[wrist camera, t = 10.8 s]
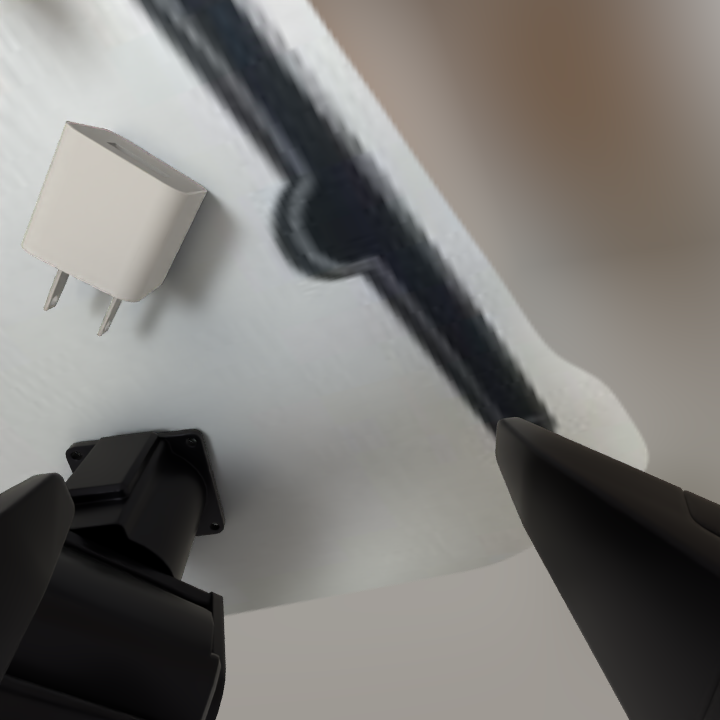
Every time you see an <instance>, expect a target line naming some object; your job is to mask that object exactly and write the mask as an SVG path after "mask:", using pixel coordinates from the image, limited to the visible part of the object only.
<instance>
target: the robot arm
mask: <svg viewBox="0 0 720 720" xmlns="http://www.w3.org/2000/svg"><path fill="white" fill-rule="evenodd" d="M188 438H194V439H195V440H196V442H191V441H189V439H188ZM76 452H79V453H81V454H82V455H78V454H77V453H76ZM495 454H496V460H497V463H498V466H499V468H500V471H501V473H502V476H503V478H504V481H505V483H506V485H507V488H508V490H509V493H510V495H511V498H512V500H513V503H514V505H515V507H516V510H517V512H518V515H519V517H520V519H521V522H522V524H523V526H524V528H525V530H526V532H527V534H528V536H529V537H530V539H531V541H532V543H533V545H534V547H535V548H536V550H537V552H538V554H539V556H540V557H541V559H542V561H543V563H544V565H545V567H546V568H547V570H548V572H549V574H550V576H551V578H552V579H553V581H554V583H555V585H556V587H557V588H558V590H559V592H560V594H561V596H562V598H563V599H564V601H565V603H566V605H567V607H568V608H569V610H570V612H571V614H572V616H573V618H574V619H575V621H576V623H577V625H578V627H579V629H580V630H581V632H582V634H583V636H584V638H585V640H586V641H587V643H588V645H589V647H590V649H591V651H592V652H593V654H594V656H595V658H596V660H597V662H598V663H599V665H600V667H601V669H602V670H603V672H604V674H605V676H606V678H607V680H608V682H609V683H610V685H611V687H612V689H613V691H614V693H615V694H616V696H617V698H618V700H619V702H620V704H621V705H622V707H623V709H624V711H625V713H626V714H627V716H628V718H629V720H720V505H719V504H717V503H714V502H712V501H709V500H707V499H705V498H703V497H700V496H698V495H696V494H694V493H691V492H689V491H683V490H682V489H681V488H680V487H677V486H675V485H672V484H670V483H668V482H666V481H664V480H661V479H659V478H657V477H654V476H652V475H650V474H647V473H645V472H643V471H641V470H638V469H636V468H634V467H631V466H629V465H627V464H625V463H622V462H620V461H618V460H615V459H613V458H611V457H608V456H606V455H604V454H602V453H599V452H597V451H595V450H592V449H590V448H588V447H585V446H583V445H581V444H579V443H576V442H574V441H572V440H569V439H567V438H565V437H563V436H560V435H558V434H556V433H553V432H551V431H549V430H546V429H544V428H542V427H540V426H537V425H535V424H533V423H530V422H528V421H526V420H524V419H521V418H519V417H513V418H505V419H500V420H499V421H498V424H497V432H496V449H495ZM66 458H67V461H68V463H69V465H70V468H71V470H72V473H73V474H72V475H71V476H70V478H69V479H68V480H67V481H66V483H65V482H64V479H63V478H62V476H61V475H60V474H58V473H47V474H39V475H35V476H32V477H30V478H28V479H27V480H25V481H23V482H21V483H19V484H17V485H16V486H14V487H12V488H10V489H8V490H6V491H5V492H3V493H1V494H0V720H215V719H216V716H217V714H218V710H219V707H220V703H221V699H222V695H223V690H224V685H225V673H226V664H225V641H224V639H225V637H224V610H223V597H222V596H220V595H218V594H216V593H214V592H210V593H207V592H205V591H203V590H200V589H198V588H196V587H194V586H192V585H189V584H187V583H185V582H183V581H181V578H182V575H183V572H184V569H185V566H186V563H187V560H188V557H189V553H190V550H191V547H192V544H193V541H194V538H195V536H202V535H210V534H217V533H220V532H221V531H223V529H224V525H225V518H224V514H223V510H222V506H221V502H220V498H219V495H218V491H217V487H216V483H215V479H214V475H213V471H212V468H211V464H210V460H209V456H208V452H207V448H206V445H205V441H204V437H203V435H202V433H201V432H200V431H198V430H195V429H190V430H181V431H172V432H164V433H154V432H145V433H136V434H127V435H119V436H110V437H103V438H101V439H100V440H96V441H87V442H78V443H74V444H73V445H71V446H70V448H69V449H68V450H67V451H66ZM212 523H217V524H218V525H214V524H212Z"/></svg>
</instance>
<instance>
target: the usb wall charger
mask: <svg viewBox="0 0 720 720" xmlns="http://www.w3.org/2000/svg"><path fill="white" fill-rule="evenodd" d="M206 193H207V190H206V189H205V188H204V187H203V186H201V185H200V184H198V183H197V182H195V181H194V180H192V179H190V178H189V177H187V176H186V175H184V174H182V173H181V172H179V171H177V170H176V169H174V168H173V167H171V166H169V165H168V164H166V163H164V162H163V161H161V160H160V159H158V158H156V157H155V156H153V155H151V154H150V153H148V152H147V151H145V150H143V149H142V148H140V147H138V146H137V145H135V144H134V143H132V142H130V141H129V140H127V139H125V138H123V137H122V136H120V135H118V134H116V133H114V132H111V131H109V130H107V129H103V128H98V127H93V126H89V125H84V124H79V123H74V122H69V121H66V123H65V126H64V129H63V132H62V134H61V137H60V140H59V143H58V145H57V148H56V151H55V153H54V156H53V159H52V162H51V164H50V167H49V170H48V173H47V175H46V178H45V181H44V183H43V186H42V189H41V192H40V194H39V197H38V200H37V203H36V205H35V208H34V211H33V213H32V216H31V219H30V222H29V224H28V227H27V230H26V233H25V235H24V238H23V241H22V243H21V246H22V248H23V249H24V250H25V251H26V252H27V253H29V254H30V255H32V256H34V257H35V258H37V259H39V260H41V261H43V262H45V263H47V264H49V265H51V266H53V267H55V268H57V269H58V271H57V274H56V276H55V279H54V281H53V284H52V286H51V289H50V291H49V294H48V297H47V300H46V303H45V305H44V310H45V311H47V310H49V309H51V308H53V307H55V306H56V304H57V302H58V300H59V298H60V295H61V293H62V291H63V289H64V286H65V284H66V282H67V279H68V277H69V275H71V276H73V277H75V278H77V279H79V280H81V281H83V282H85V283H87V284H89V285H91V286H93V287H95V288H97V289H99V290H101V291H103V292H105V293H107V294H109V295H111V296H113V299H112V302H111V304H110V306H109V308H108V310H107V313H106V315H105V317H104V319H103V322H102V324H101V327H100V329H99V331H98V334H97V335H98V336H101V335H102V334H104V333H105V332H106V331H107V330H108V329H109V327H110V324H111V322H112V320H113V318H114V316H115V314H116V312H117V310H118V308H119V306H120V303H121V301H122V300H124V301H128V302H138V301H140V300H142V299H143V298H144V297H146V296H147V295H148V294H150V293H151V292H152V291H154V290H155V289H156V288H158V287H159V286H160V285H162V283H163V281H164V279H165V277H166V275H167V273H168V271H169V269H170V267H171V265H172V263H173V261H174V259H175V257H176V254H177V252H178V250H179V248H180V246H181V244H182V242H183V240H184V238H185V236H186V234H187V232H188V230H189V228H190V226H191V224H192V222H193V220H194V217H195V215H196V213H197V211H198V209H199V207H200V205H201V203H202V201H203V199H204V197H205V195H206Z"/></svg>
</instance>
